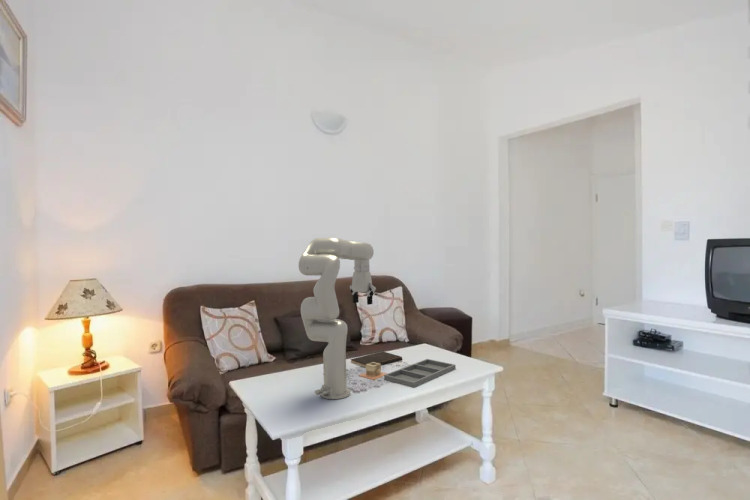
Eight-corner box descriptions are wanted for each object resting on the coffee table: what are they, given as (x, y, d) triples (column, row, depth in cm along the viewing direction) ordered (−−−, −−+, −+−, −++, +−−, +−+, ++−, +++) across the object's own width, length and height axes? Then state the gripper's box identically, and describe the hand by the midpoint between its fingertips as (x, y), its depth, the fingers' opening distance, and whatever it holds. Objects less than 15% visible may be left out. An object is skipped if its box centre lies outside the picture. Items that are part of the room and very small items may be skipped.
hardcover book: (350, 363, 221) (350, 359, 221) (383, 355, 235) (383, 351, 235) (369, 370, 208) (368, 365, 208) (402, 361, 223) (402, 356, 223)
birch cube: (373, 376, 194) (373, 366, 193) (366, 374, 197) (365, 364, 197) (381, 374, 197) (380, 363, 197) (373, 372, 201) (373, 361, 201)
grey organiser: (413, 388, 178) (413, 382, 178) (384, 380, 190) (384, 375, 190) (455, 369, 203) (455, 364, 203) (427, 363, 215) (427, 358, 215)
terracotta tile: (374, 380, 190) (374, 379, 190) (358, 376, 197) (358, 375, 197) (388, 375, 197) (388, 373, 197) (373, 371, 204) (372, 370, 204)
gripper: (344, 269, 209) (345, 303, 209) (369, 270, 198) (370, 305, 198) (355, 268, 215) (355, 301, 215) (379, 269, 203) (380, 304, 203)
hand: (362, 303), depth 206 cm, fingers open, 9 cm apart
